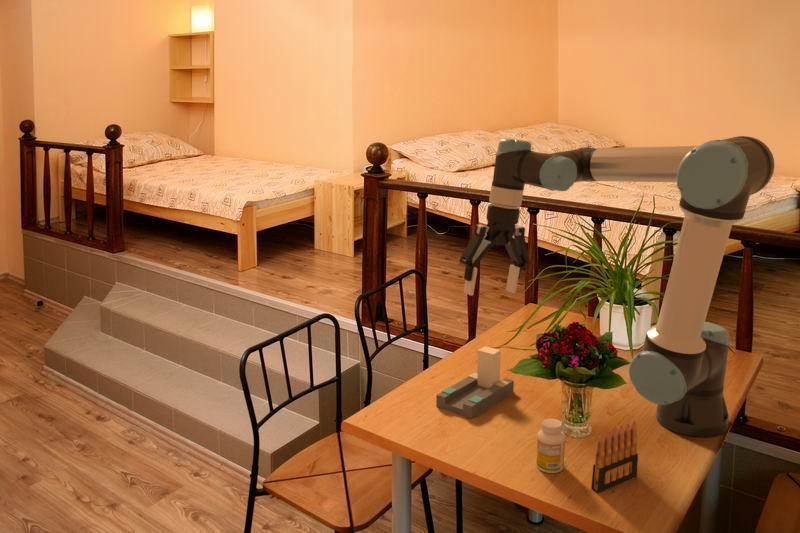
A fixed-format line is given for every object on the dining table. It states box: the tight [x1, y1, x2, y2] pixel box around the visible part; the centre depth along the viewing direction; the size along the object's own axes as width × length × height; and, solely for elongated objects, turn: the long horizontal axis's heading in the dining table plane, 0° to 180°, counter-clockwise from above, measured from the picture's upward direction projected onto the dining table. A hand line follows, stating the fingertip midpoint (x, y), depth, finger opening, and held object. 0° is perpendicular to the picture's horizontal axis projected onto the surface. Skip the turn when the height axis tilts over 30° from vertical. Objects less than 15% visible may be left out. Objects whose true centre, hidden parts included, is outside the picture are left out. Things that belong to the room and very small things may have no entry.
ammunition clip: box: [590, 420, 639, 494], centre depth 147 cm, size 11×2×12 cm, turn 122°
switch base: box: [435, 371, 515, 419], centre depth 184 cm, size 18×10×3 cm, turn 140°
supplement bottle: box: [536, 418, 566, 474], centre depth 153 cm, size 5×5×10 cm
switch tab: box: [477, 345, 502, 388], centre depth 187 cm, size 3×4×9 cm
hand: (489, 293), depth 184 cm, fingers open, 13 cm apart
